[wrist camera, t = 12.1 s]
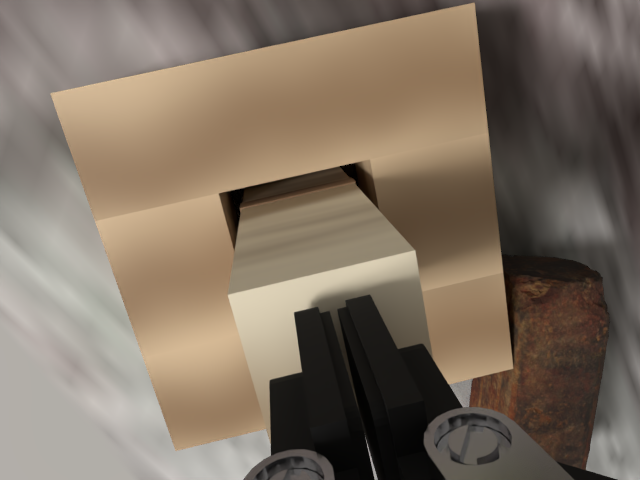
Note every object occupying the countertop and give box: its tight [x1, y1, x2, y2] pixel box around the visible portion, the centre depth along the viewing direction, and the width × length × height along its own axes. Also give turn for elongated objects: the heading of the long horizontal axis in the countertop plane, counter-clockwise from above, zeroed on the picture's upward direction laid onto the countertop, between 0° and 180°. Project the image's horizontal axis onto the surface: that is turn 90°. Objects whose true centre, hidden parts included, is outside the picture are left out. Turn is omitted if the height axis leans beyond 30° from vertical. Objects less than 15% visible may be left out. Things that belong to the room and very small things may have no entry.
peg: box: [228, 166, 433, 443], centre depth 17 cm, size 4×4×12 cm
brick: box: [469, 255, 610, 470], centre depth 24 cm, size 11×4×5 cm, turn 0°
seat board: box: [50, 3, 513, 451], centre depth 21 cm, size 14×14×4 cm
